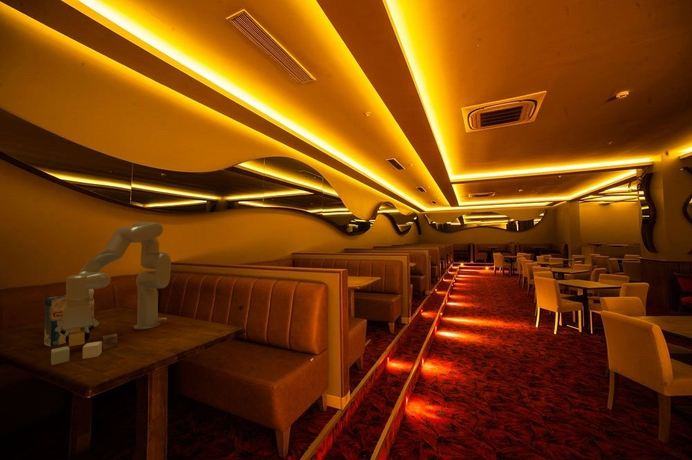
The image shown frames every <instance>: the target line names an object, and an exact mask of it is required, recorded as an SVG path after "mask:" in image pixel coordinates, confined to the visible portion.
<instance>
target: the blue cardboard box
mask: <svg viewBox="0 0 692 460" xmlns="http://www.w3.org/2000/svg"><path fill="white" fill-rule="evenodd" d="M44 299H45V300H44V301H45V305H44V333H43V336H44V337H43V341H44V342H43V345H45V346H47V347H50V348H51V347H55V346H60V345H62V344H63V345H64V344H67V343H66V336H65V335H63V334H61V333H60V332H57V331H55V329H56V328H57V327H58V326H59V325H60V324H61V323H62V316H63V310H64V307H65V306H66V294H65V295H58V296H52V297H46V298H44ZM61 329H62V327H61ZM63 330H65V329H63ZM74 331H81V328H74V329H71V331H70V333H71V332H74Z"/></svg>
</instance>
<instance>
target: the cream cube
mask: <svg viewBox="0 0 692 460" xmlns="http://www.w3.org/2000/svg"><path fill="white" fill-rule="evenodd" d="M102 350H103V340H101V341H93V342H86V344H84V345H83V346H82V360H84V359H85V360H86V359H91V358H98V357H99V356H100V355H101V354H102V352H103V351H102Z"/></svg>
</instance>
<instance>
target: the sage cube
mask: <svg viewBox="0 0 692 460" xmlns="http://www.w3.org/2000/svg"><path fill="white" fill-rule="evenodd" d="M70 351H71V350H70V346H69V345H66V346H62V347H58V348H52V349H51V350H50V363H51V366H54V365H57V364H58V365H59V364H62V363H66V362H70Z"/></svg>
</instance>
